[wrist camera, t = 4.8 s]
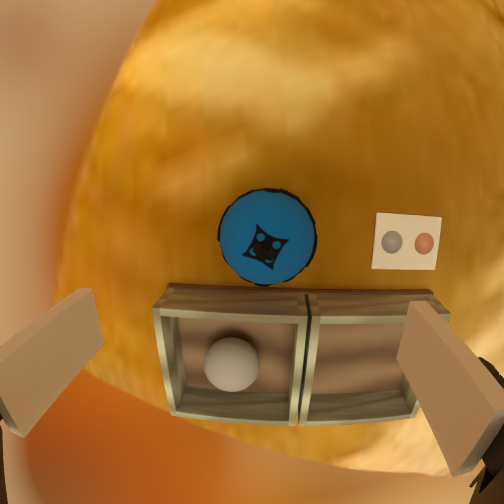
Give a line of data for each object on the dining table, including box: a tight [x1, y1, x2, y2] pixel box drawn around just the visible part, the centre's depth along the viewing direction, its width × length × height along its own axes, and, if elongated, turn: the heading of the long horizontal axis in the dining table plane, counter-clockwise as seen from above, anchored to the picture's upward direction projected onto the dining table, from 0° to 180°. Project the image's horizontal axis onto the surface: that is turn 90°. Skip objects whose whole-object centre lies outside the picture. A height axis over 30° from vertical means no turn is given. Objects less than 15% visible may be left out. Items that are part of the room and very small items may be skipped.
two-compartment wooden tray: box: [152, 283, 451, 426], centre depth 32 cm, size 15×30×6 cm, turn 90°
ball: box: [204, 337, 260, 392], centre depth 32 cm, size 6×6×6 cm
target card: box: [371, 212, 442, 270], centre depth 30 cm, size 6×8×1 cm
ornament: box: [218, 188, 317, 287], centre depth 27 cm, size 9×9×10 cm
